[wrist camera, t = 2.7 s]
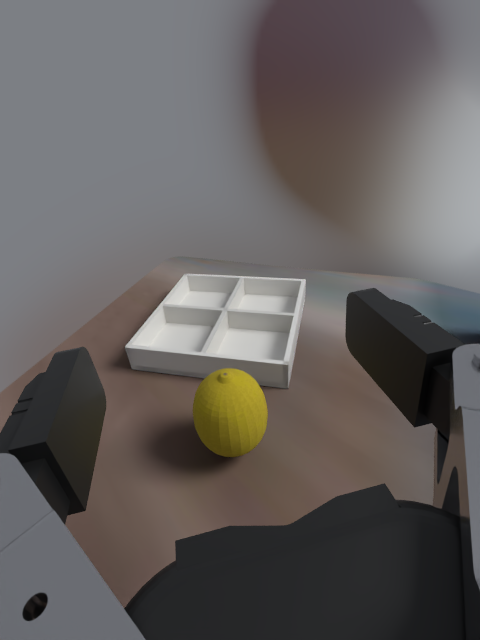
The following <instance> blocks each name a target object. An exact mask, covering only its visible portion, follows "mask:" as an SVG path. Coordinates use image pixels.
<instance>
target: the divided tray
mask: <svg viewBox="0 0 480 640" xmlns="http://www.w3.org/2000/svg"><path fill="white" fill-rule="evenodd" d="M305 288H306V279H287V278H266V277H245V276H224V275H203V274H184V276H183V277H182V278H181V279H180V281H179V282H178V283H177V284H176V285H175V287H174V288H173V289H172V290H171V291H170V293H169V294H168V295H167V296H166V298H165V299H164V300H163V301H162V302H161V304H160V305H159V306H158V307H157V309H156V310H155V311H154V312H153V313H152V315H151V316H150V317H149V318H148V319H147V321H146V322H145V323H144V324H143V326H142V327H141V328H140V329H139V330H138V332H137V333H136V334H135V335H134V336H133V338H132V339H131V340H130V341H129V343H128V344H127V345H126V346H125V350H126V353H127V356H128V359H129V362H130V365H131V368H132V369H133V370H141V371H149V372H157V373H165V374H173V375H181V376H189V377H197V378H206V377H207V376H208V375H210V374H211V373H213V372H215V371H217V370H220V369H224V368H233V369H239V370H242V371H244V372H246V373H248V374H249V375H251V376H252V377H253V378H254V379H255V380H256V381H257V383H258V384H259V385H262V386H270V387H278V388H286V389H288V387H289V382H290V377H291V371H292V366H293V361H294V356H295V350H296V345H297V340H298V334H299V329H300V324H301V319H302V313H303V308H304V303H305Z"/></svg>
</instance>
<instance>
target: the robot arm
mask: <svg viewBox="0 0 480 640" xmlns="http://www.w3.org/2000/svg"><path fill="white" fill-rule="evenodd" d="M346 343H347V346H348V349H349V351H350V353H351V354H352V355H353V357H354V358H355V359H356V360H357V361H358V362H359V364H360V365H361V366H362V367H363V368H364V369H365V371H366V372H367V373H368V374H369V375H370V376H371V377H372V379H373V380H374V381H375V382H376V383H377V384H378V386H379V387H380V388H381V389H382V390H383V391H384V393H385V394H386V395H387V396H388V397H389V398H390V400H391V401H392V402H393V403H394V404H395V405H396V407H397V408H398V409H399V410H400V411H401V412H402V414H403V415H404V416H405V417H406V418H407V419H408V421H409V422H410V423H411V424H412V425H413V426H414V427H418V426H422V425H426V424H430V423H433V425H434V426H435V427H436V432H435V438H434V496H433V506H431V505H428V504H423V503H419V502H414V501H406V500H395V499H394V497H393V496H392V494H391V492H390V491H389V489H388V488H387V486H386V485H385V484H381V485H377V486H374V487H370V488H366V489H363V490H359V491H355V492H352V493H348V494H344V495H341V496H337V497H335V498H333V499H332V500H330V501H328V502H327V503H325V504H323V505H322V506H320V507H318V508H317V509H315V510H313V511H312V512H310V513H308V514H307V515H305V516H304V517H302V518H300V519H299V520H297V521H295V522H294V523H292V524H289V525H284V526H228V527H224V528H220V529H217V530H213V531H210V532H206V533H202V534H199V535H195V536H191V537H188V538H184V539H180V540H177V541H175V544H176V561H174V562H173V563H171V564H169V565H168V566H166V567H165V568H164V569H162V570H161V571H160V572H158V573H157V574H156V575H155V576H153V577H152V578H151V579H150V580H149V581H148V582H147V583H146V584H145V585H144V586H143V587H142V588H141V589H140V590H139V591H138V592H137V593H136V595H135V596H134V597H133V598H132V599H131V600H130V602H129V603H128V604H127V606H126V607H125V609H124V608H123V607H122V605H121V604H120V603H119V601H118V600H117V598H116V597H115V595H114V594H113V593H112V591H111V590H110V588H109V587H108V586H107V584H106V583H105V581H104V580H103V578H102V577H101V576H100V574H99V573H98V571H97V570H96V569H95V567H94V566H93V564H92V563H91V561H90V560H89V559H88V557H87V556H86V554H85V553H84V551H83V550H82V549H81V547H80V546H79V544H78V543H77V542H76V540H75V539H74V537H73V536H72V534H71V533H70V532H69V530H68V529H67V527H66V526H65V522H66V518H67V515H71V514H75V513H79V512H82V511H86V506H87V501H88V496H89V491H90V486H91V481H92V476H93V471H94V466H95V461H96V456H97V451H98V446H99V441H100V436H101V431H102V426H103V421H104V416H105V411H106V397H105V392H104V389H103V386H102V384H101V381H100V379H99V377H98V374H97V372H96V369H95V367H94V364H93V362H92V360H91V357H90V355H89V353H88V351H87V349H86V348H84V347H81V348H76V349H71V350H66V351H61V352H57V353H55V354H54V356H53V358H52V360H51V362H50V364H49V366H48V368H47V370H46V372H44V373H40V374H38V375H37V376H36V377H35V378H34V379H33V380H32V381H31V382H30V383H29V384H28V385H27V386H26V387H25V388H24V390H23V392H22V394H21V396H20V398H19V399H18V403H17V404H16V405H15V407H14V409H13V411H12V412H11V413H12V415H11V416H9V418H8V420H7V422H6V424H5V426H4V427H3V429H2V431H1V433H0V640H480V344H467V345H466V344H464V343H463V342H461V341H460V340H458V339H457V338H455V337H454V336H453V335H451V334H450V333H448V332H447V331H445V330H444V329H443V328H441V327H440V326H438V325H437V324H435V323H432V322H431V320H430V319H428V318H427V317H425V316H424V315H423V316H422V315H421V313H420V312H418V311H417V310H415V309H414V308H412V307H411V306H409V305H407V304H404V303H401V302H398V301H395V300H390V299H389V298H388V297H386V296H385V295H384V294H382V293H381V292H379V291H378V290H377V289H375V288H371V289H366V290H361V291H356V292H351V293H349V294H348V297H347V305H346Z"/></svg>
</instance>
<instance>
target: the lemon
mask: <svg viewBox="0 0 480 640" xmlns="http://www.w3.org/2000/svg"><path fill="white" fill-rule="evenodd" d="M267 417H268V411H267V405H266V400H265V397H264V394H263V391H262V390H261V388H260V386H259V384H258V383H257V381H256V380H255V379H254V378H253V377H252V376H251V375H249V374H248V373H246V372H244V371H242V370H239V369H233V368H224V369H220V370H217V371H215V372H213V373H211V374H210V375H208V376H207V377H206V378H205V379H204V380H203V381H202V382H201V383H200V385H199V387H198V389H197V391H196V394H195V398H194V403H193V418H194V425H195V428H196V431H197V433H198V435H199V437H200V439H201V441H202V442H203V443H204V444H205V445H206V447H207V448H208V449H210V450H211V451H213V452H214V453H216V454H218V455H221V456H225V457H237V456H242V455H244V454H246V453H248V452H250V451H251V450H252V449H254V448H255V447H256V446H257V445H258V443H259V442H260V441H261V439H262V437H263V435H264V432H265V430H266V426H267Z"/></svg>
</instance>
